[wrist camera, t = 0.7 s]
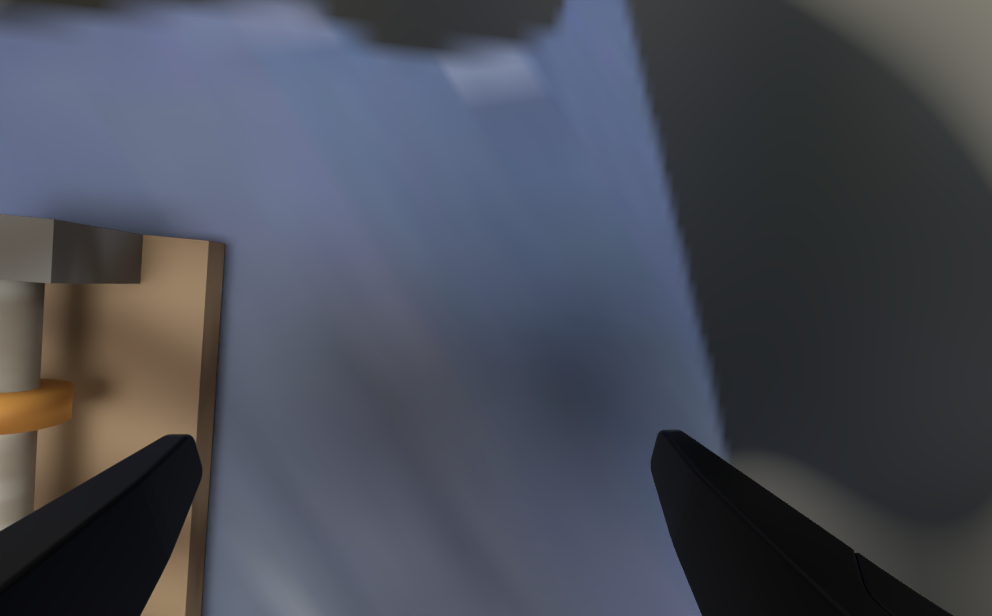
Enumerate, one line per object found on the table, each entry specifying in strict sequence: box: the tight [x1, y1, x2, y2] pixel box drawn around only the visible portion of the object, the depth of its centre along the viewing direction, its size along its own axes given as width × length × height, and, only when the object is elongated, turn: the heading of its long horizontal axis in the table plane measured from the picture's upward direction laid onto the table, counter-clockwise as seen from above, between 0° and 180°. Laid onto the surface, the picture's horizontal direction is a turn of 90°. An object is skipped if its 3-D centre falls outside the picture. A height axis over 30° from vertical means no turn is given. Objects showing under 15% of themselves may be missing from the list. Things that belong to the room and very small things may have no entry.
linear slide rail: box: [0, 214, 225, 616], centre depth 18 cm, size 24×10×6 cm, turn 175°
